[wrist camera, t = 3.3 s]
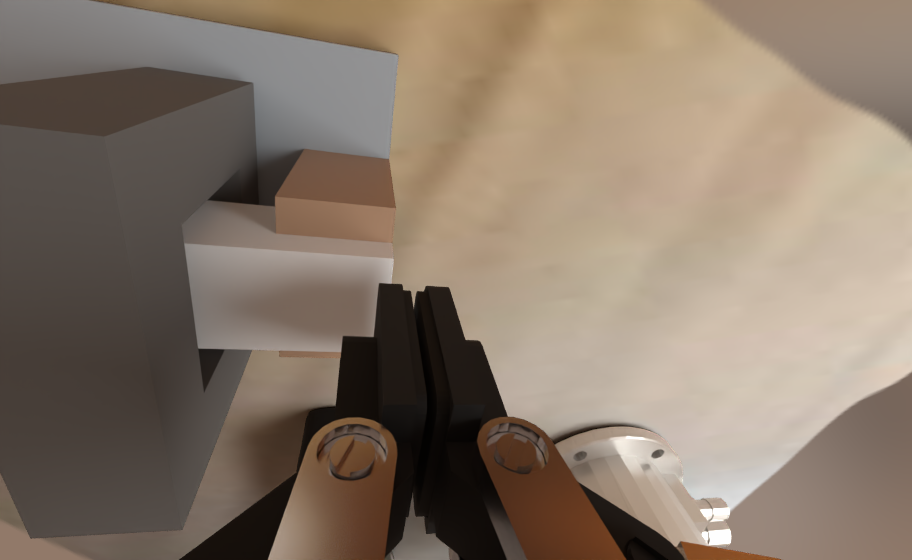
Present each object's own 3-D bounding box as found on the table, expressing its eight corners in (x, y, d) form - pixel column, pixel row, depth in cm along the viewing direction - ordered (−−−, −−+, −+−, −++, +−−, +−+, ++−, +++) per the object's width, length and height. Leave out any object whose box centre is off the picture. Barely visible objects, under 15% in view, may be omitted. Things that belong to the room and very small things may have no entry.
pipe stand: (396, 53, 16) (415, 64, 9) (372, 325, 21) (372, 468, 14) (-360, -81, 12) (-1522, -270, 4) (-150, 305, 17) (-525, 495, 10)
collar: (253, 82, 14) (104, 136, 6) (264, 318, 18) (182, 530, 10) (147, 66, 13) (-169, 104, 6) (183, 315, 17) (30, 538, 10)
